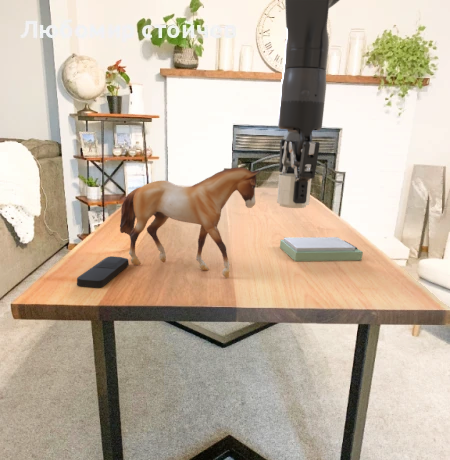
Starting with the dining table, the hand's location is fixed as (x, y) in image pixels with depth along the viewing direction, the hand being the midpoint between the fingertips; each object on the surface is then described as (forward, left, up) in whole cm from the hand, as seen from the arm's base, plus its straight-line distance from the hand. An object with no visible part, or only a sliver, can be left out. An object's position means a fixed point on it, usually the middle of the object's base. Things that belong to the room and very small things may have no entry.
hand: (293, 199), depth 81 cm
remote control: (+35, -5, -16) cm, 39 cm away
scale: (-14, -18, -15) cm, 28 cm away
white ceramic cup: (0, 0, -1) cm, 1 cm away
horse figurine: (+19, -11, -16) cm, 27 cm away
